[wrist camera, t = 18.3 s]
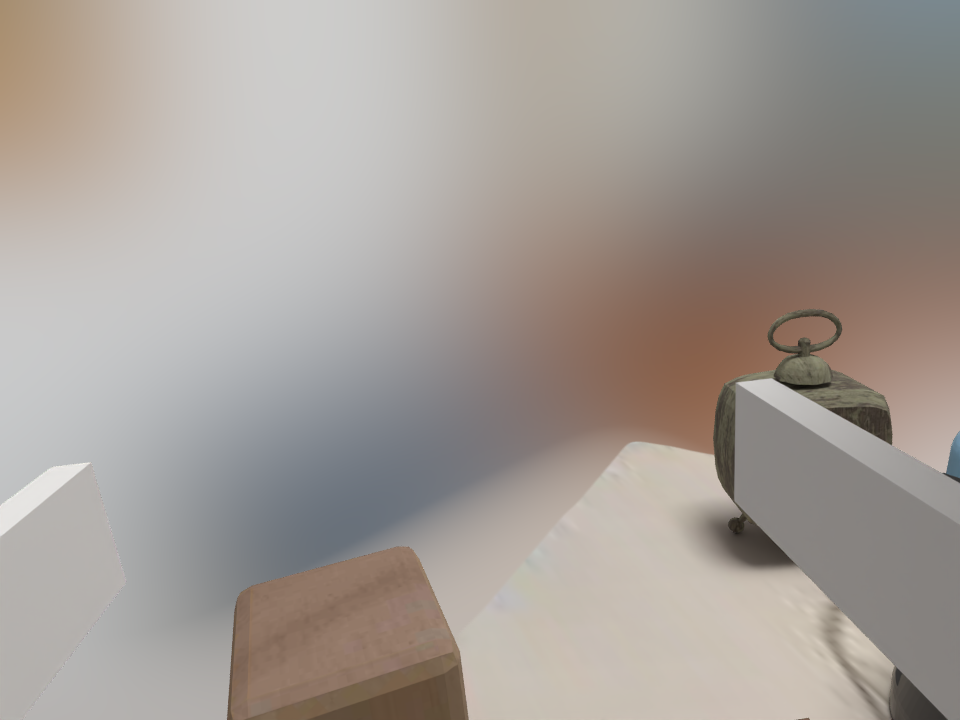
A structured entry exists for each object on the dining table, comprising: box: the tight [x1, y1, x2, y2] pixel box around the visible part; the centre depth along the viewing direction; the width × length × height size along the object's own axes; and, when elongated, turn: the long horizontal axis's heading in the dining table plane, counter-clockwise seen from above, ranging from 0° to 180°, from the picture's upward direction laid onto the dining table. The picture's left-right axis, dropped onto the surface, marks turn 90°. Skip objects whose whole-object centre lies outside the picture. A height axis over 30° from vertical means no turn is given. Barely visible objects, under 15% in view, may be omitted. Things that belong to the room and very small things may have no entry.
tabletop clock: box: [713, 309, 892, 533], centre depth 63 cm, size 14×9×25 cm, turn 89°
